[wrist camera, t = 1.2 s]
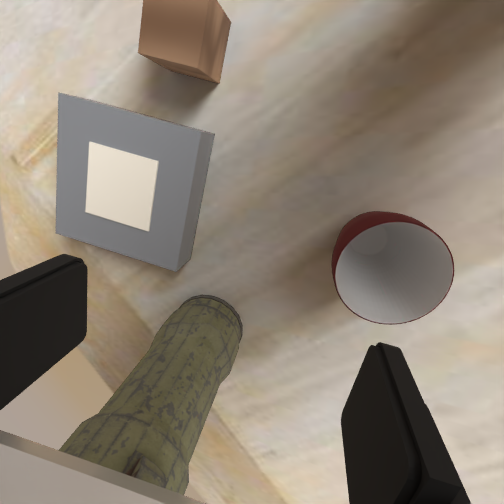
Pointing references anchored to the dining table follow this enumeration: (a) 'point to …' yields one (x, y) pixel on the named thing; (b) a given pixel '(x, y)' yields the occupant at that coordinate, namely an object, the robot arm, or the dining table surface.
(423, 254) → the mug
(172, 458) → the thermos
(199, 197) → the slate pedestal
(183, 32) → the walnut block
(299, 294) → the dining table surface
